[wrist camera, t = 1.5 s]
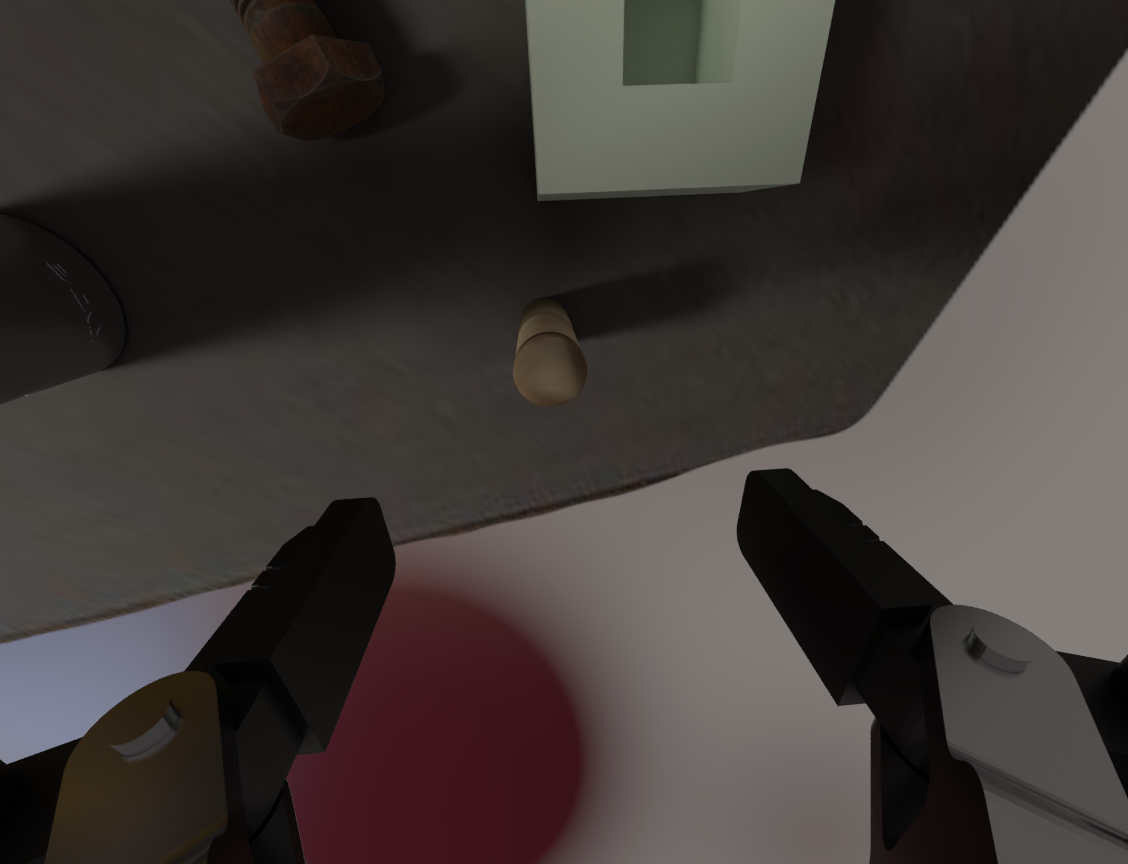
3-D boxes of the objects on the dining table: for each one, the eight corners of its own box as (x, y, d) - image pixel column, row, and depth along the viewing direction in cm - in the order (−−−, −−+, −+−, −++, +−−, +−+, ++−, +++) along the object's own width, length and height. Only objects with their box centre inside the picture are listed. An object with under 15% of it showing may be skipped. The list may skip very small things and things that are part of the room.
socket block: (537, 201, 23) (538, 194, 18) (518, -110, 18) (512, -251, 13) (740, 192, 24) (799, 183, 19) (782, -114, 18) (883, -251, 13)
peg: (522, 348, 27) (516, 408, 18) (517, 299, 26) (509, 338, 17) (570, 346, 27) (587, 404, 19) (568, 296, 26) (586, 334, 17)
